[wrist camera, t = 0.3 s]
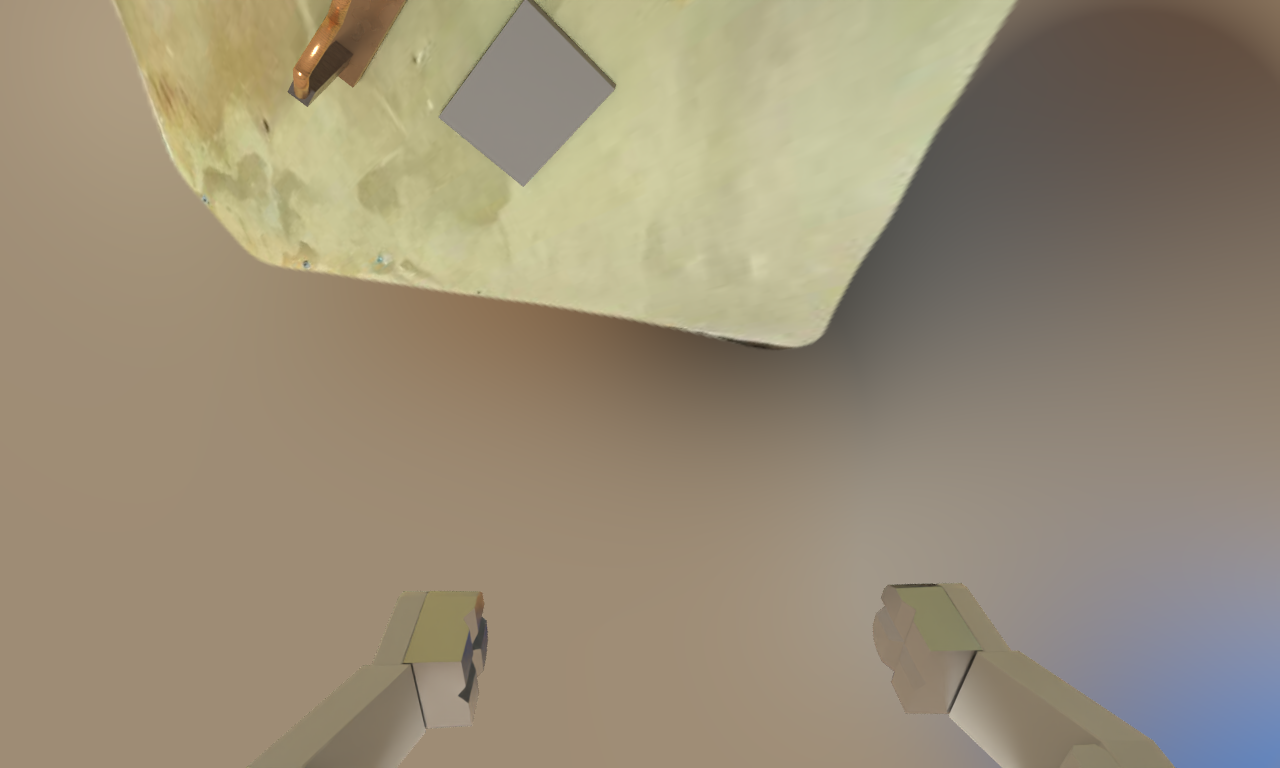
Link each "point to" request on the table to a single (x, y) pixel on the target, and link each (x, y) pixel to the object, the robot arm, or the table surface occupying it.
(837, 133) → the table surface
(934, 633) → the robot arm
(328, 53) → the wire frame
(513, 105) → the pad
